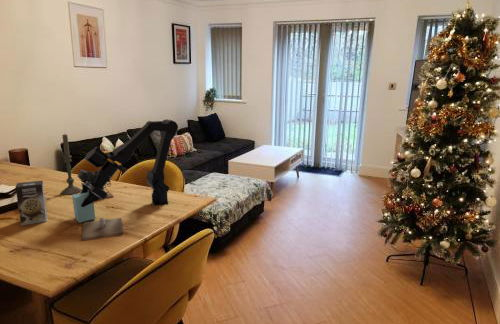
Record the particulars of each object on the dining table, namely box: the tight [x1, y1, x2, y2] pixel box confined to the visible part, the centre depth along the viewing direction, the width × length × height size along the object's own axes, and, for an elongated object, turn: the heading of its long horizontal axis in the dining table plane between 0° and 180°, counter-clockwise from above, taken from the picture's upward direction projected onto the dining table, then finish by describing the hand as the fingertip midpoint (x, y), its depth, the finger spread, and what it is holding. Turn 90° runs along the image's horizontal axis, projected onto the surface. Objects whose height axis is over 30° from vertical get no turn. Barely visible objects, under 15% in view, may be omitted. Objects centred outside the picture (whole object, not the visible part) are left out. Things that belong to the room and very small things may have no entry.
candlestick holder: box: [61, 134, 82, 196], centre depth 174 cm, size 9×9×30 cm
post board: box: [81, 217, 124, 241], centre depth 136 cm, size 14×14×5 cm
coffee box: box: [15, 180, 48, 226], centre depth 141 cm, size 9×6×16 cm
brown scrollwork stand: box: [103, 182, 114, 200], centre depth 169 cm, size 9×4×12 cm, turn 119°
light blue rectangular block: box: [71, 192, 96, 223], centre depth 144 cm, size 6×6×10 cm
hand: (79, 204), depth 143 cm, fingers closed on light blue rectangular block, 6 cm apart
